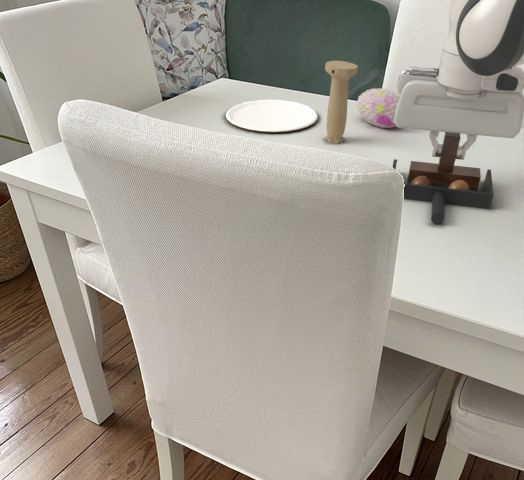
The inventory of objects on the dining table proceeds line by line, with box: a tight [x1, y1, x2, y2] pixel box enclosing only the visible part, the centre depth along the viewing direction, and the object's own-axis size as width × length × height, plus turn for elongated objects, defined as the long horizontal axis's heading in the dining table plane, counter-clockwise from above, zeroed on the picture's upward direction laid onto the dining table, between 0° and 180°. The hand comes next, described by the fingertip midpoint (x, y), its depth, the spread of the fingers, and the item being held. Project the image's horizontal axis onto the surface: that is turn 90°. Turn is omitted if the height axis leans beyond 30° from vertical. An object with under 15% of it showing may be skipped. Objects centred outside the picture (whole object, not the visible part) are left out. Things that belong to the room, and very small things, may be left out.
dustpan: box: [392, 158, 495, 225], centre depth 98 cm, size 17×19×3 cm
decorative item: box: [356, 87, 400, 129], centre depth 125 cm, size 9×11×10 cm
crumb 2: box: [448, 180, 470, 191], centre depth 98 cm, size 4×4×4 cm
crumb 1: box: [411, 176, 432, 186], centre depth 99 cm, size 4×4×4 cm
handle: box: [324, 60, 359, 144], centre depth 114 cm, size 5×6×15 cm
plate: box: [225, 99, 319, 134], centre depth 129 cm, size 21×21×1 cm
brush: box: [406, 132, 482, 192], centre depth 99 cm, size 12×4×9 cm, turn 76°
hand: (447, 157), depth 98 cm, fingers closed on brush, 2 cm apart
